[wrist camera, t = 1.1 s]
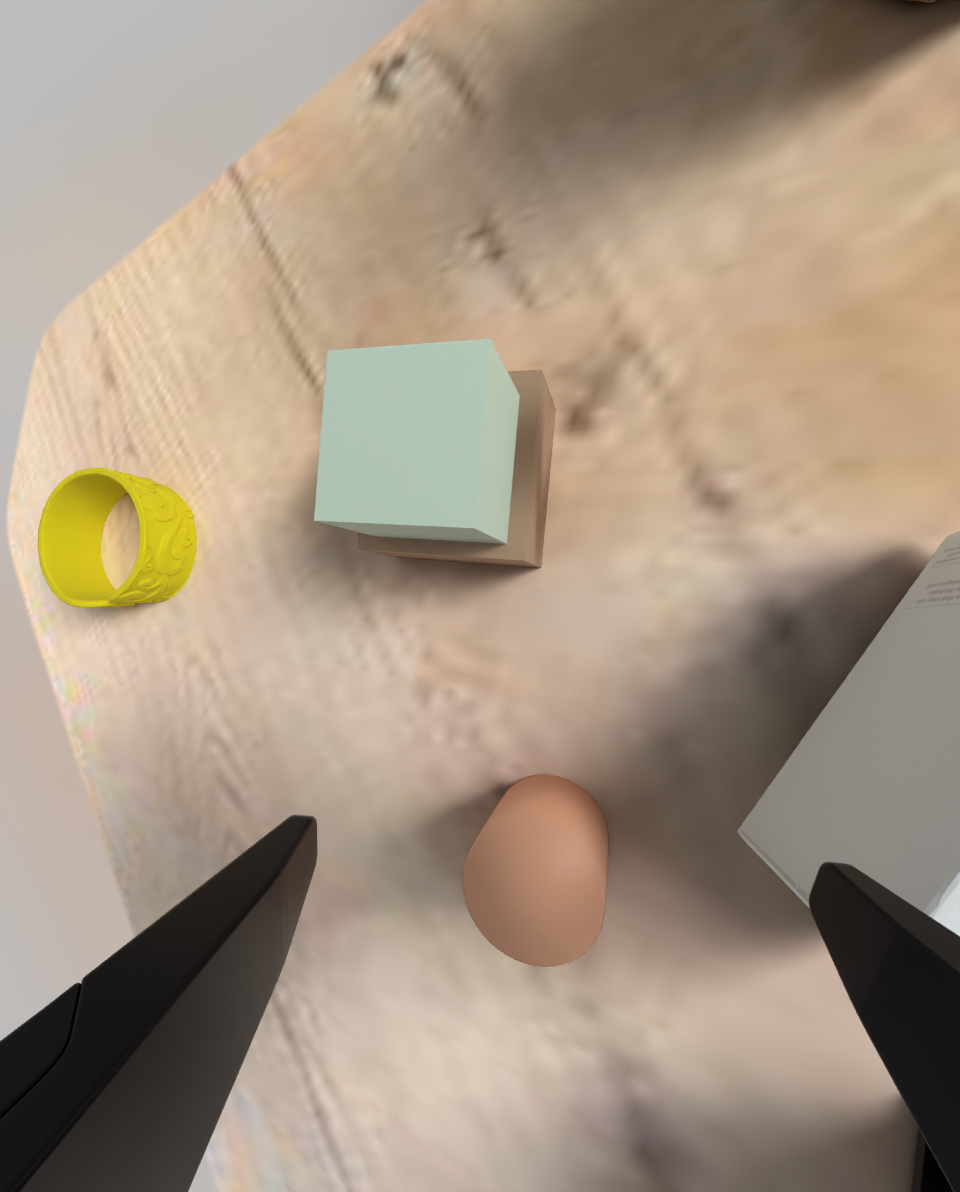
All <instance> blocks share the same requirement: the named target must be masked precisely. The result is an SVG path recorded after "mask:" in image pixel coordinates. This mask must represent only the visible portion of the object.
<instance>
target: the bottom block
mask: <svg viewBox="0 0 960 1192" xmlns="http://www.w3.org/2000/svg"><path fill="white" fill-rule="evenodd" d="M508 374H509V376H510V378H511V380H512V381H513V383H514V385H515V387H516V389H517V391H518V393H519V395H520V398H519V410H518V422H517V433H516V445H515V456H514V468H513V479H512V490H511V502H510V513H509V525H508V536H507V544H500V543H482V542H464V541H446V540H428V539H411V538H393V537H375V536H372V535H368V534H364V533H360V532H359V539H358V549H360V550H365V551H370V552H375V553H380V554H385V555H390V556H395V557H402V558H416V559H430V560H443V561H457V562H471V563H484V564H498V565H512V566H525V567H539V568H541V565H542V554H543V543H544V532H545V521H546V511H547V500H548V489H549V478H550V467H551V456H552V445H553V434H554V423H555V412H556V409H555V406H554V403H553V400H552V397H551V394H550V392H549V389H548V386H547V383H546V380H545V377H544V375H543V372H542V370H530V371H510V372H508Z"/></svg>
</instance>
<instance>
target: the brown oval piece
mask: <svg viewBox="0 0 960 1192" xmlns="http://www.w3.org/2000/svg"><path fill="white" fill-rule="evenodd" d="M608 847H609V836H608V829H607V824H606V821H605V819H604V816H603V814H602V812H601V810H600V808H599V807H598V805H597V804H596V802H595V801H594V800H593V798H592V797H591V796H590V795H589V794H588V793H587V792H586V791H585V790H584V789H582V788H581V787H579V786H578V785H577V784H575V783H573V782H571V781H569V780H567V779H564V778H562V777H558V776H553V775H534V776H530V777H526V778H524V779H522V780H520V781H518V782H516V783H515V784H513V785H512V786H511V787H510V788H509V789H508V790H507V791H506V792H505V794H504V795H503V797H502V798H501V800H500V801H499V803H498V805H497V806H496V808H495V809H494V811H493V813H492V814H491V816H490V817H489V819H488V821H487V822H486V824H485V825H484V827H483V829H482V830H481V832H480V834H479V835H478V837H477V838H476V840H475V842H474V843H473V845H472V846H471V848H470V850H469V852H468V854H467V857H466V860H465V863H464V869H463V881H462V883H463V892H464V897H465V901H466V904H467V907H468V910H469V912H470V915H471V917H472V919H473V921H474V922H475V924H476V926H477V927H478V929H479V930H480V931H481V933H482V934H483V935H484V936H485V937H486V939H487V940H488V941H489V942H490V943H491V944H493V945H494V946H495V947H496V948H497V949H498V950H500V951H501V952H503V953H504V954H506V955H507V956H509V957H511V958H513V959H515V960H517V961H520V962H522V963H526V964H530V965H534V966H542V967H547V966H558V965H562V964H565V963H569V962H571V961H573V960H575V959H577V958H578V957H580V956H581V955H583V954H584V953H585V952H586V951H587V950H588V949H589V948H590V947H591V946H592V944H593V943H594V941H595V940H596V938H597V936H598V934H599V932H600V930H601V927H602V924H603V919H604V912H605V896H606V880H607V863H608Z"/></svg>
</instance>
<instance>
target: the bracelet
mask: <svg viewBox="0 0 960 1192" xmlns="http://www.w3.org/2000/svg"><path fill="white" fill-rule="evenodd" d="M127 493H129V495H130V497H131V498H132V500H133V502H134V505H135V508H136V511H137V514H138V519H139V528H140V541H139V551H138V556H137V560H136V563H135V566H134V568H133V571H132V573H131V575H130V576H129V578H128V579H127V580H126V582H125V583H124V584H123V585H122V586H121V587H120V588H119V589H117V590H115V589H114V587H113V586H112V585H111V583H110V582H109V580H108V578H107V576H106V573H105V571H104V568H103V564H102V559H101V539H102V532H103V528H104V524H105V521H106V519H107V517H108V515H109V513H110V511H111V509H112V508H113V506H114V505H115V504H116V502H117V501H118V500H119V499H120V498H121V497H123V496H124V495H125V494H127ZM193 517H194V515H193V513H192V510H191V508H189V507H188V506H187V504H186V503H185V502H184V500H183V499H182V498H181V497H180V496H179V495H178V494H177V493H176V492H174V491H173V490H171V489H170V488H168V487H166V486H163V485H161V484H157V483H156V482H154V481H152V480H150V479H146V478H142V477H137V476H134V475H130V474H127V473H121V472H117V471H112V470H109V469H104V468H89V469H84V470H80V471H78V472H75V473H73V474H71V475H70V476H68V477H67V478H65V479H64V480H63V481H62V482H60V483H59V484H58V486H57V487H56V488H55V489H54V490H53V492H52V493H51V495H50V497H49V499H48V500H47V502H46V505H45V507H44V509H43V512H42V515H41V520H40V524H39V528H38V552H39V560H40V566H41V569H42V572H43V575H44V577H45V579H46V581H47V583H48V585H49V586H50V588H51V590H52V591H53V592H54V594H55V595H56V596H57V597H58V598H59V599H60V600H61V601H63V602H65V603H66V604H68V605H71V606H75V607H122V606H135V604H136V603H155V602H161V601H165V600H168V599H170V598H171V597H173V596H174V595H175V594H176V593H177V592H178V591H179V590H180V589H182V588H183V586H184V585H185V583H186V582H187V580H188V578H189V576H190V573H191V571H192V568H193V564H194V560H195V555H196V541H197V536H196V529H195V524H194V519H193Z"/></svg>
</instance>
